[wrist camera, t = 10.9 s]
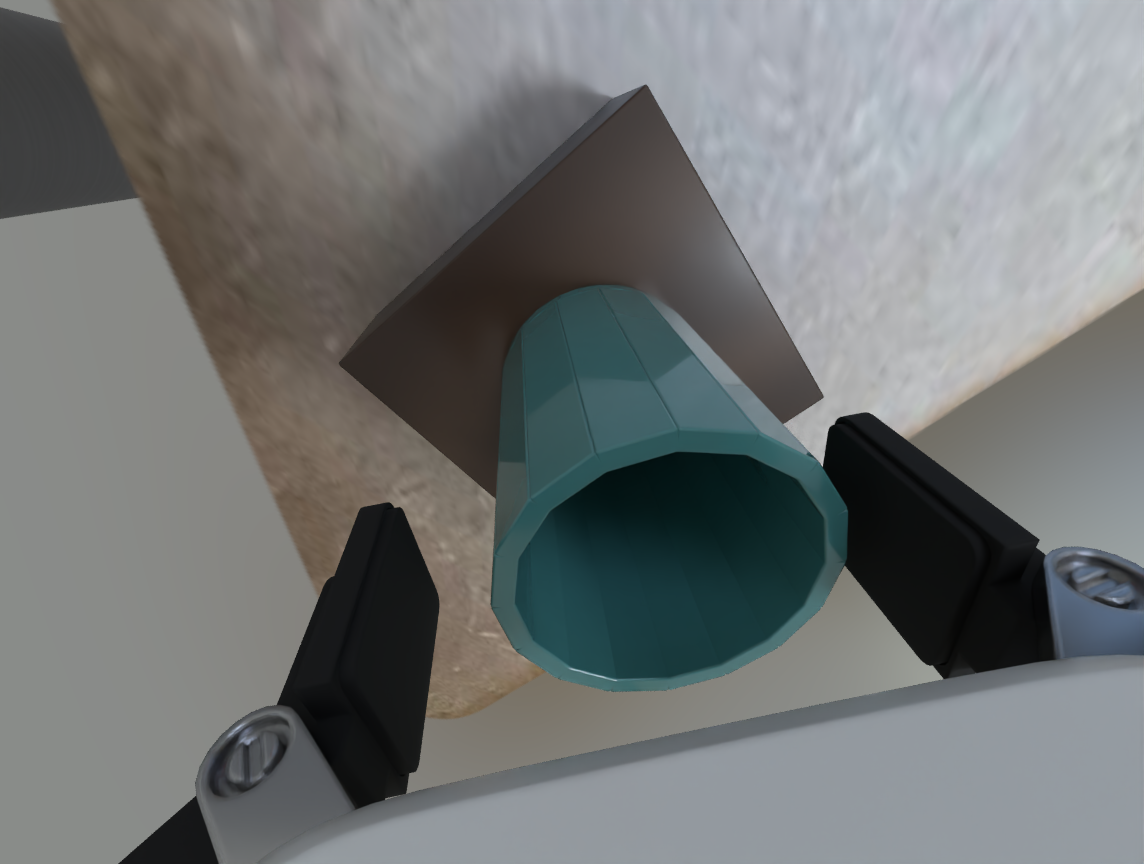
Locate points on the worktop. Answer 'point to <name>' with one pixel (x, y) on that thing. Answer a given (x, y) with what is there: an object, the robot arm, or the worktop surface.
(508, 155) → the worktop surface
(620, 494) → the teal cup
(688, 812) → the robot arm
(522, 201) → the plate
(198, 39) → the worktop surface
